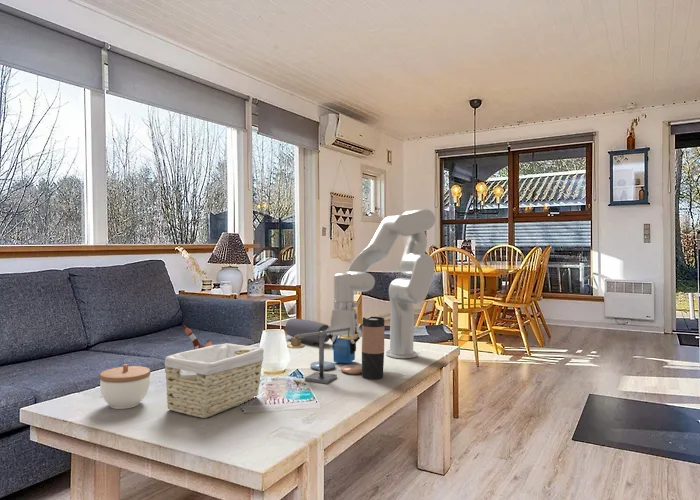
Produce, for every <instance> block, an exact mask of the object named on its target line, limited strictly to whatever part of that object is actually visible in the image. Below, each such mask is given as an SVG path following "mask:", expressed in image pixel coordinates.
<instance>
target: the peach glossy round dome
mask: <svg viewBox="0 0 700 500" xmlns="http://www.w3.org/2000/svg"><path fill="white" fill-rule="evenodd" d="M340 371H341V372H343V373H344V374H349V375H358V374H362V365H359V364H345V365H342V366H340Z"/></svg>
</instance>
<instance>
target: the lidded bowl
mask: <svg viewBox="0 0 700 500" xmlns="http://www.w3.org/2000/svg"><path fill="white" fill-rule="evenodd" d="M150 375H151V369H150V368H149V367H146V366H140V365H129V364H128V363H126V364H125V363H124V364H123V366H119V367H113V368H109V369H106V370H103V371H102V372H100V373H99V379H100V381H99V382H100V383H99V385H100V394H101V396H102V398H103V400H104V402H106V404H108V405H109V406H110V408H112V409H115V410H126V409H131V408H134V407H136V406H137V407H138V406H139V405H140V403H141V402H142V401H143V399H144V398H145V397H146V396H147V395H148V391H149V388H150V383H151V382H150V380H151V376H150Z"/></svg>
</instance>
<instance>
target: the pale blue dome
mask: <svg viewBox="0 0 700 500" xmlns="http://www.w3.org/2000/svg"><path fill="white" fill-rule="evenodd" d="M309 366H310V368H312V369H313V370H316V371H319V361H314V362H311V363H310V365H309ZM335 367H336V363H335V362H331V361H325V360H324V371H329V370H332V369H333V368H335Z"/></svg>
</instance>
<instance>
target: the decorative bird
mask: <svg viewBox="0 0 700 500" xmlns="http://www.w3.org/2000/svg"><path fill="white" fill-rule="evenodd" d="M182 328H183V329H184V332H185V334H186V335H187V336H188V337H189V339H190V341H191V342H192V346H193V350H195V349H199V348H204V347H208V346H213V345H214V344H213V343H212V341H211V340H210V339H207V340H206V341H207V343H205V345H204V344H203V345H202V344H201V343H200V342H199V340H198V338H197V336H196V335H195V334H194V333H193V330H192V329H191V328H189V327H187V326H186V325H185V324H183V326H182Z"/></svg>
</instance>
